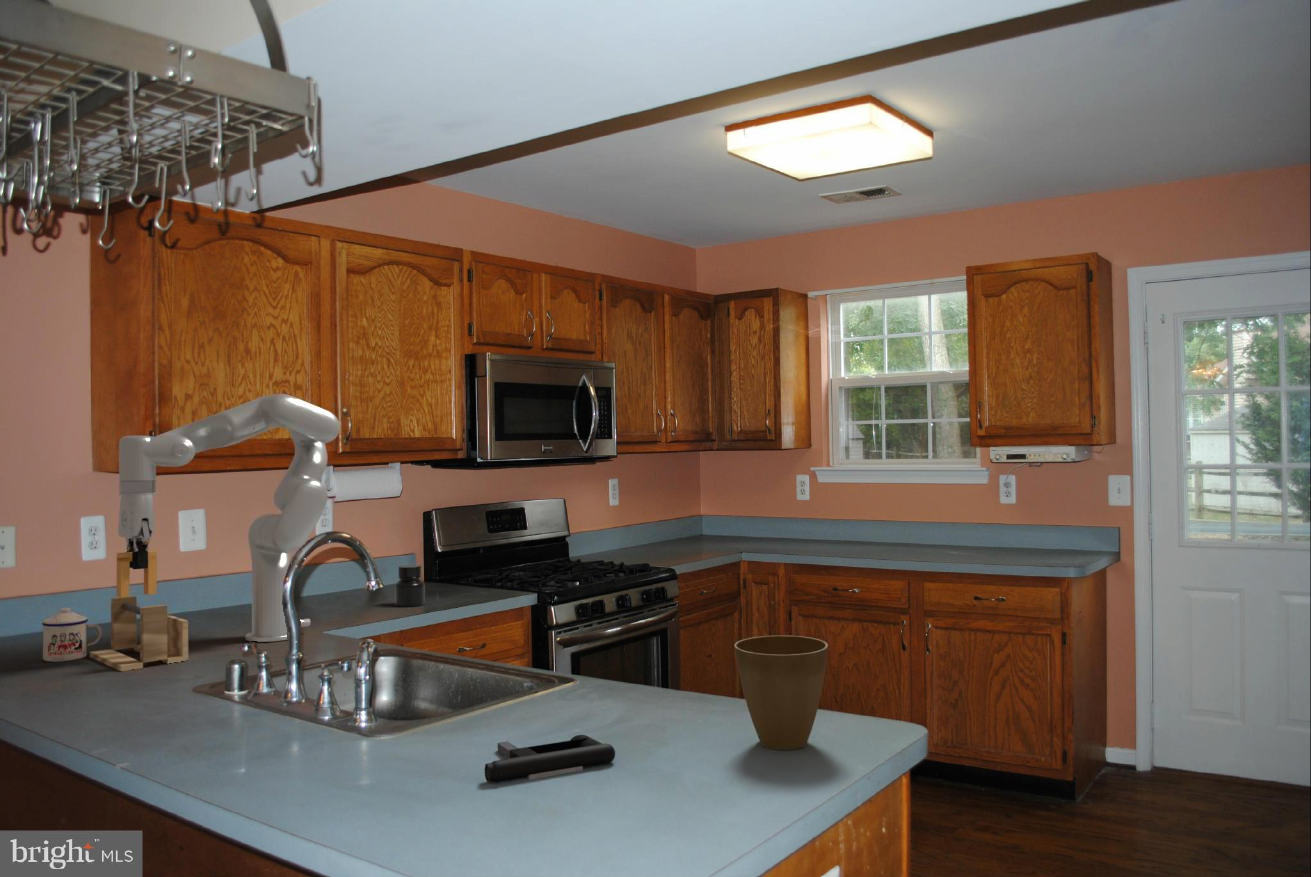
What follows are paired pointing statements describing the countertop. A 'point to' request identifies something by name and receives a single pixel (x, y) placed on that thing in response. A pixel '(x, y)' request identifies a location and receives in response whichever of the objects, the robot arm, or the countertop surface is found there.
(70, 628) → the teacup with lid
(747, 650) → the plant pot
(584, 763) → the door handle
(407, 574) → the ink bottle
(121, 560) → the yellow wooden arch
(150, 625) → the wooden rack
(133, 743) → the countertop surface
